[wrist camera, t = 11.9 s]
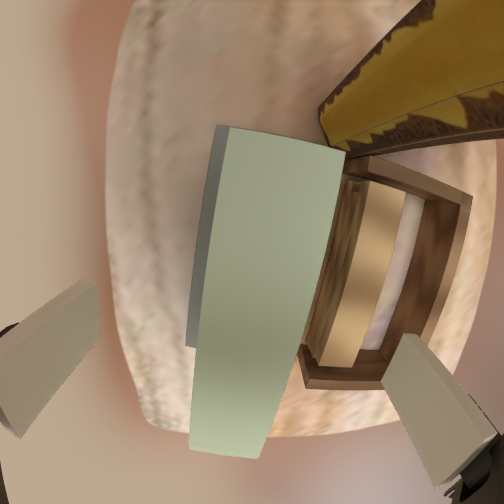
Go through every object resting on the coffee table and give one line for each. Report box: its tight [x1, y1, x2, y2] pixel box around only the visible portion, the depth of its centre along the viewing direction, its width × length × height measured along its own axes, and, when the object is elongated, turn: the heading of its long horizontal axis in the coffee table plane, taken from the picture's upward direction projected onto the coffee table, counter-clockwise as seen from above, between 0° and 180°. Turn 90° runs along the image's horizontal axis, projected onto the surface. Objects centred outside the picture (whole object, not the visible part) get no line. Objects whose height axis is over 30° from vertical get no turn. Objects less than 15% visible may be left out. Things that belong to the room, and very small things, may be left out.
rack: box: [297, 155, 473, 390], centre depth 23 cm, size 20×12×6 cm, turn 170°
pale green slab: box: [189, 128, 346, 459], centre depth 18 cm, size 16×4×15 cm, turn 170°
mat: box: [185, 125, 328, 348], centre depth 25 cm, size 22×10×1 cm, turn 170°
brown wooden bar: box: [306, 180, 406, 368], centre depth 24 cm, size 17×4×5 cm, turn 170°
